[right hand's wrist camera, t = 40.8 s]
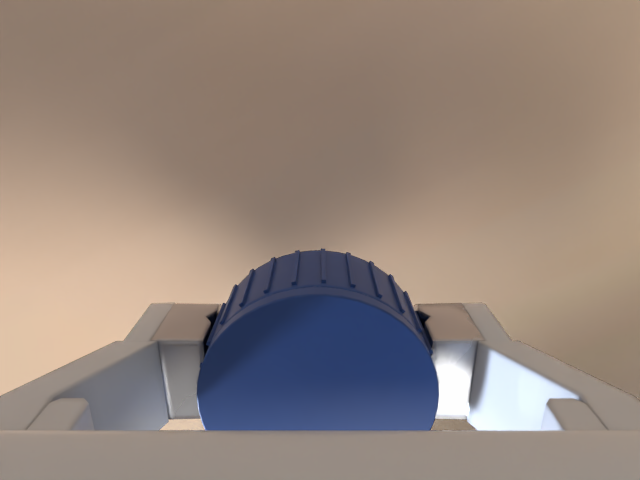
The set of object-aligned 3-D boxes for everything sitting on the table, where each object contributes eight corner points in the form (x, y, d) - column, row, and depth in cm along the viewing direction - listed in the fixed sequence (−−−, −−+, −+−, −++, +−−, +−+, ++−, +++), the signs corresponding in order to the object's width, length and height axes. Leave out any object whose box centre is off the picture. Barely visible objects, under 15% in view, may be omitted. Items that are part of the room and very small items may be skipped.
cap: (348, 205, 9) (356, 241, 7) (455, 363, 10) (486, 428, 8) (174, 316, 10) (140, 374, 8) (294, 449, 11) (289, 527, 9)
